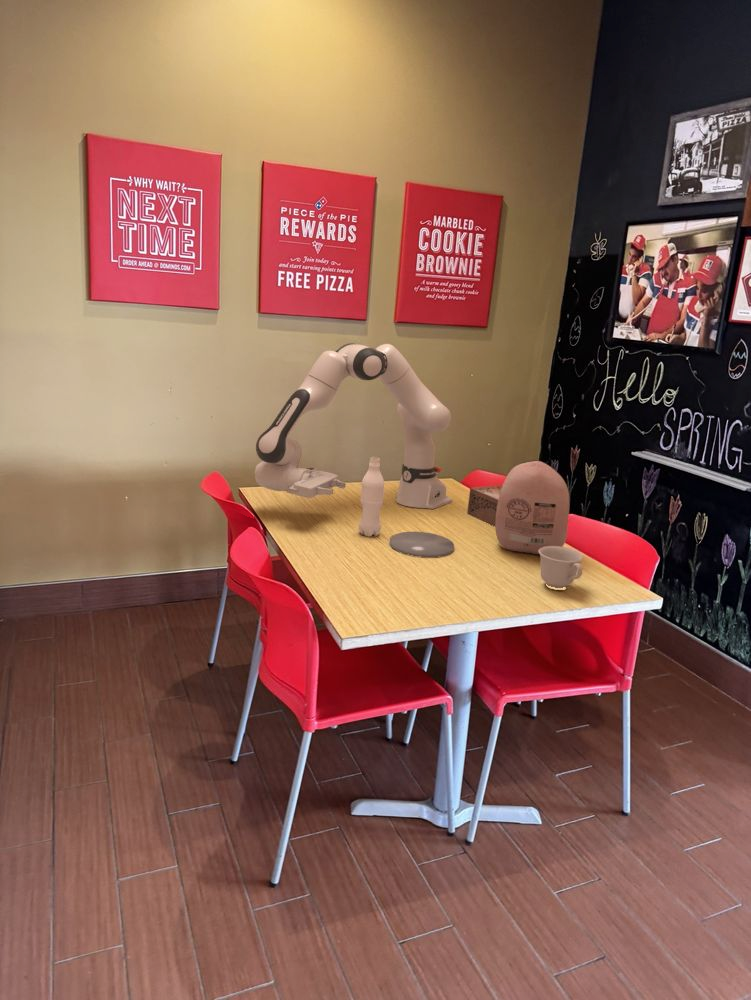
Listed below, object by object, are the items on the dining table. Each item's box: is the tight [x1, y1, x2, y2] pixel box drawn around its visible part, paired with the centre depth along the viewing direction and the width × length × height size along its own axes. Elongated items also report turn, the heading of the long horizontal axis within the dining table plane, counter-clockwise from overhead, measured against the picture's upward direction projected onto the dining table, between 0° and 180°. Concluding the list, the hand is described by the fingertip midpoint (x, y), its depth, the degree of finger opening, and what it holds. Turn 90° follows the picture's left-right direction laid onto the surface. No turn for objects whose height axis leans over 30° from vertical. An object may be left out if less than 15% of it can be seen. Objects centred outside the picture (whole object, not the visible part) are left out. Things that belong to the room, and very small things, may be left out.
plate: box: [388, 531, 455, 558], centre depth 223 cm, size 20×20×1 cm
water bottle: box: [358, 456, 385, 538], centre depth 227 cm, size 7×7×25 cm
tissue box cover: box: [466, 484, 503, 527], centre depth 252 cm, size 26×14×10 cm, turn 31°
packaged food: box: [494, 459, 570, 555], centre depth 221 cm, size 22×20×30 cm
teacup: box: [538, 546, 584, 588], centre depth 197 cm, size 12×15×10 cm
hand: (338, 488), depth 231 cm, fingers open, 8 cm apart
